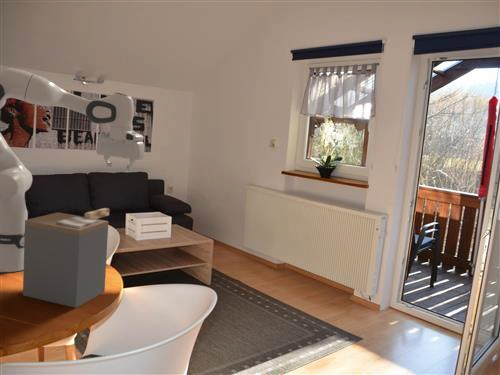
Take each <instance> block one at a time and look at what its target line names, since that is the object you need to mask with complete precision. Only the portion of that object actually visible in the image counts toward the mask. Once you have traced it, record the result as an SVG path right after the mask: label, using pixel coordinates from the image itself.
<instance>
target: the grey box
mask: <svg viewBox="0 0 500 375" xmlns="http://www.w3.org/2000/svg"><path fill="white" fill-rule="evenodd" d="M72 217H82V218H85V216H80V215H75V214H69V213H64V212H59V211H57V212H54V213H49V214H46V215H42V216H37V217H33V218H27V220H25V237H24V270H23V277H22V278H23V279H22V280H23V281H22V283H23V284H22V296H25V297H29V298H33V299H36V300H40V301H41V300H42V301H45V302H50V303H53V304H58V305H63V306H67V307H69V308H75V309H77V308H79V307H81V306H82V305H84V304H85V303H88V302H89V301H91V300H93V299H94V298H96V297H97V296H99V295H101V294H103V293H105V290H106V272H107V271H106V270H107V254H108V253H107V252H108V238H109V236H108V235H109V221H108V220H103V219H100V218H98V219H95V220H98V223H96V224H92V225H89V226H86V227H83V228H75V227H69V226H64V225H58V224H56V222H57V221H61V220H64V219H68V218H72Z"/></svg>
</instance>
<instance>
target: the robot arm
mask: <svg viewBox="0 0 500 375" xmlns="http://www.w3.org/2000/svg"><path fill="white" fill-rule="evenodd" d="M8 99H16V100H20V101H22V102H25V103H28V104H32V105H35V106H41V107H57V108H65V109H67V110H70V111H73V112H76V113H80V114H82V115H84V116H86V117H87V119H88V121H90V122H92V123H93V124H95V125H105V124H109V132H104V131H103V132H100V133H99V134H98V135H97V143H96V148H95V149H96V154H97V155H99V156H103V159H104V161H105V166H106V168H112V165H113V163H112V162H110V158H111V157H113V158H120V159H121V158H122V159H128V160H129V164H127V165H126V170H127V171H132V170H133V166H134V164H135V163H136V160H137V161H141V160H143V159H144V158H145V144H144V142H143V141H144V139H145V138H144V136H143V135H142V134H141V133H138V132H136V131H134V126H133V119H134V112H135V111H134V109H135V106H134V104H135V102H134V99H133V98H132V97H131V96H130V95H127V94H123V93H120V92H113V94H111V95H108V96H106V97H102V98H97V99H90V98H85V97H82V96H80V95H76V94H74V93H71V92H68V91H67V90H65V89H63V88H62V87H59V86H58V85H57V84H56V83H54V82H52V81H50V80H48V79H47V78H46V77H43V76H41V75H38V74H35V73H33V72H29V71H27V70H24V69H23V70H22V69H19V68H12V67H6V68H3V69H2V70H1V71H0V111H2V110H3V109H4V108H5V107H6V105H7V103H8ZM32 184H33V175H32V173H31V171H30V170H29V169H28V168H27V167H26V166H25V165H24V163H23V162H22V161H21V160H20V158H19V157H18V156H17V155H16V154H15V153H14V152H13V150H12V149H11V148H10V146H9V144H8V142H7V141H6V139H5V138H4V136H3V134H2V133H1V132H0V273H13V272H20V271H24V237H25V220H28V217H29V216H28V214H29V212H28V209H27V206H26V199H25V198H26V196H25V195H26V192H27V191H28V190H29V189H30V188H31V186H32Z"/></svg>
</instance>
